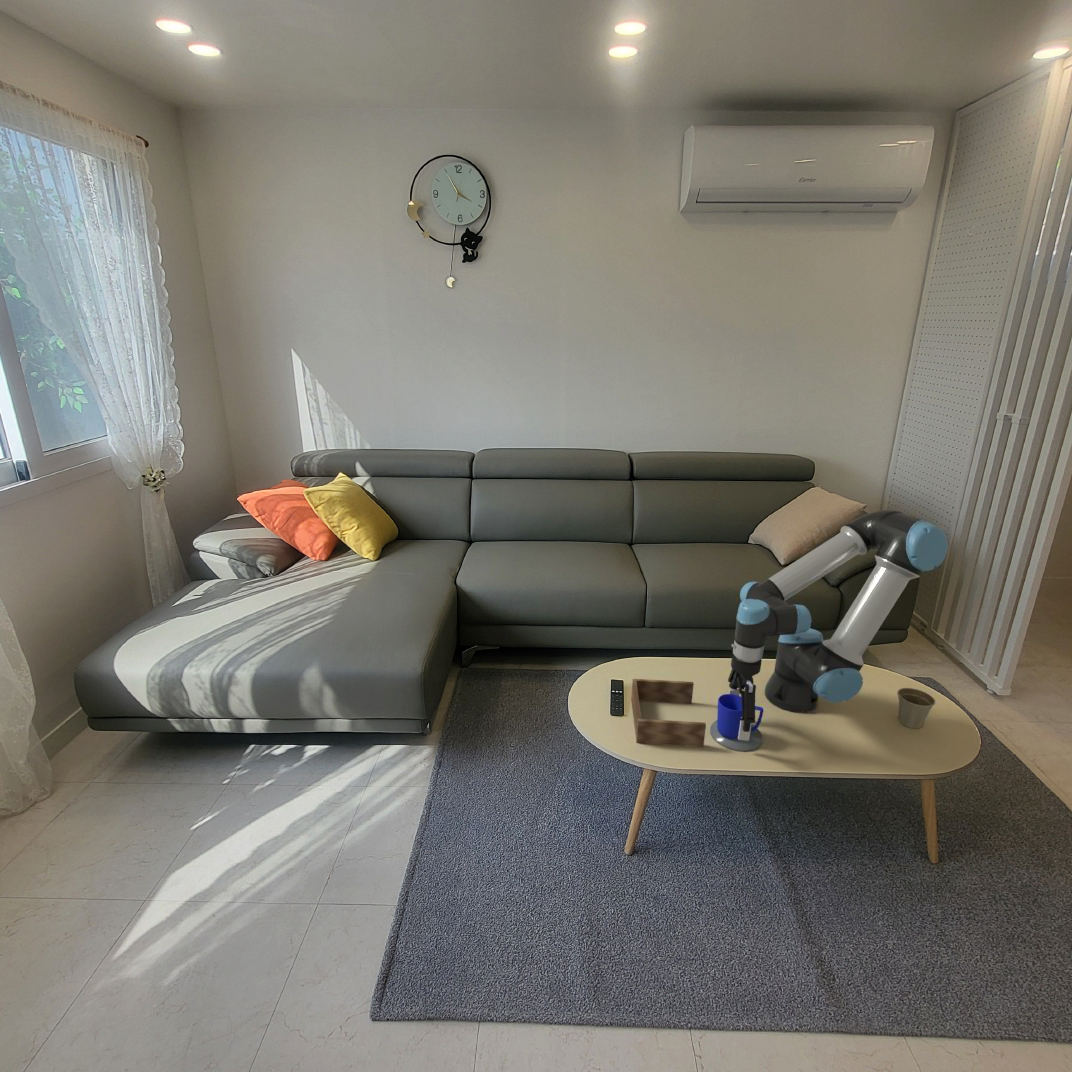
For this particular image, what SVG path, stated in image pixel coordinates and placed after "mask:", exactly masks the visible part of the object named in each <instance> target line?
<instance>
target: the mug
mask: <svg viewBox="0 0 1072 1072" xmlns="http://www.w3.org/2000/svg"><path fill="white" fill-rule="evenodd" d="M755 711H759V715H758V719H757V722H755V724H754V725H753V726H754V727H751V731H755V730H756V729H758V728H759V726H760V724H761V721H762V719H763V714H764V707H762V706H757V705H755ZM741 717H742V703H741V695H739V696H738V695H734V694H729V693H724V694H721V695H720V696H719V697H718V699H717V719H716V720H717V729H718V732H719V733H720V734H721V735H722V736H724V737H726V738H730V739H736V738H738V735H739V728H740V718H741Z"/></svg>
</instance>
